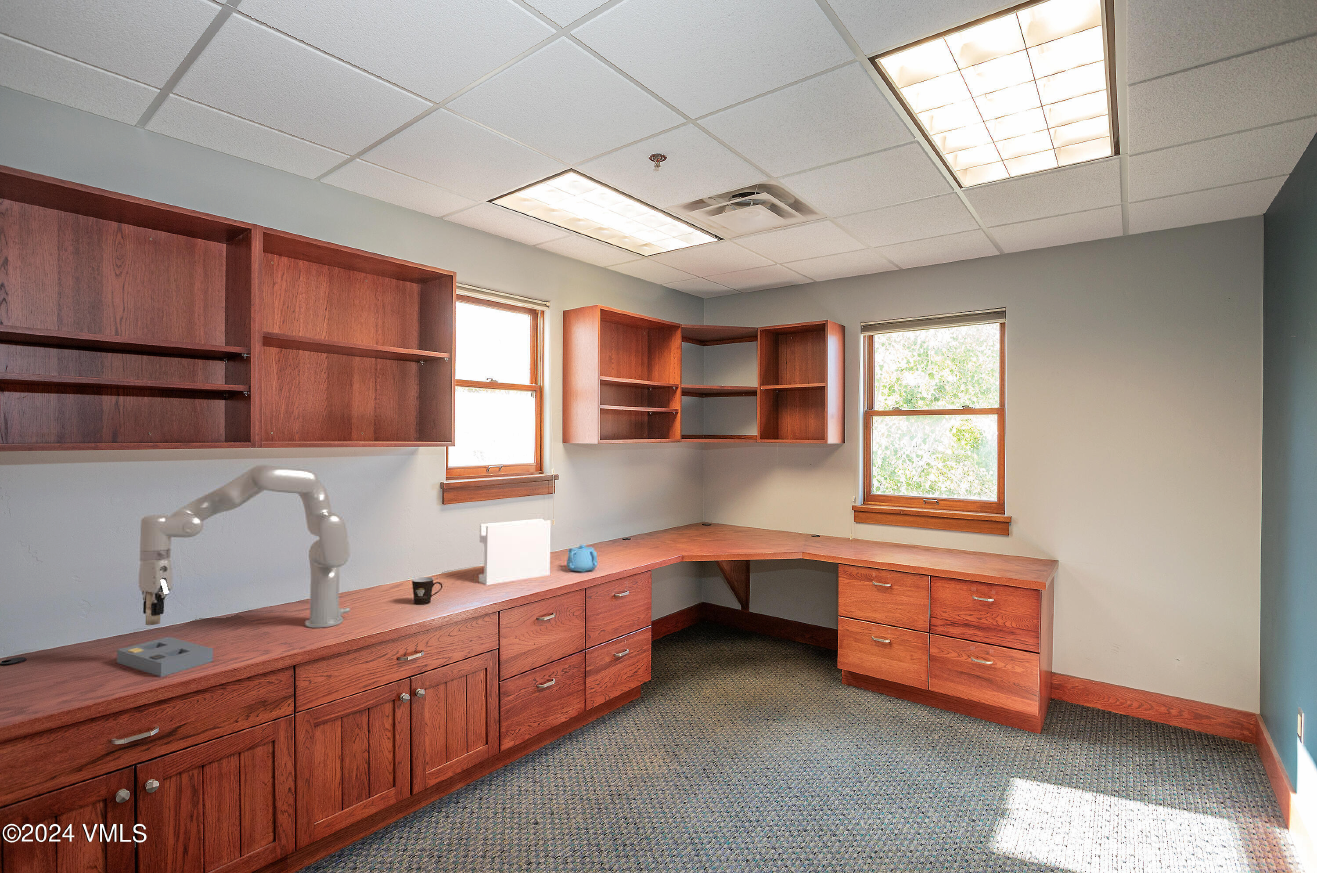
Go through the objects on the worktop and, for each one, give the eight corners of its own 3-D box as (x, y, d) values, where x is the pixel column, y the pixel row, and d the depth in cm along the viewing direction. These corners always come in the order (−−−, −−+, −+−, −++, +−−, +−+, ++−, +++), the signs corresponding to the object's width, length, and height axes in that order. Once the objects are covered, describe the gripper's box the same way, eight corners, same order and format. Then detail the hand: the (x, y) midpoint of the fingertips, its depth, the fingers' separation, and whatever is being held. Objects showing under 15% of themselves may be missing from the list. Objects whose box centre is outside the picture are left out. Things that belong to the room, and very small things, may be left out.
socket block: (168, 648, 205) (168, 635, 205) (212, 661, 195) (212, 647, 195) (116, 662, 192) (116, 648, 192) (161, 676, 182) (161, 662, 182)
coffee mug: (406, 604, 262) (407, 580, 262) (420, 599, 270) (421, 576, 270) (429, 607, 258) (430, 583, 258) (443, 602, 266) (443, 578, 266)
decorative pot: (597, 573, 326) (598, 547, 326) (566, 573, 324) (566, 547, 324) (597, 567, 342) (597, 542, 342) (567, 567, 340) (568, 542, 340)
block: (486, 585, 298) (487, 526, 297) (478, 581, 304) (479, 524, 303) (549, 574, 321) (550, 520, 321) (541, 572, 327) (542, 518, 327)
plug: (156, 621, 198) (157, 589, 198) (162, 623, 197) (163, 591, 197) (142, 624, 195) (143, 592, 195) (149, 625, 193) (150, 593, 193)
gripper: (184, 555, 196) (182, 614, 196) (154, 550, 203) (152, 607, 203) (156, 559, 189) (154, 620, 189) (126, 554, 196) (124, 612, 196)
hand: (153, 613), depth 196 cm, fingers closed on plug, 3 cm apart
